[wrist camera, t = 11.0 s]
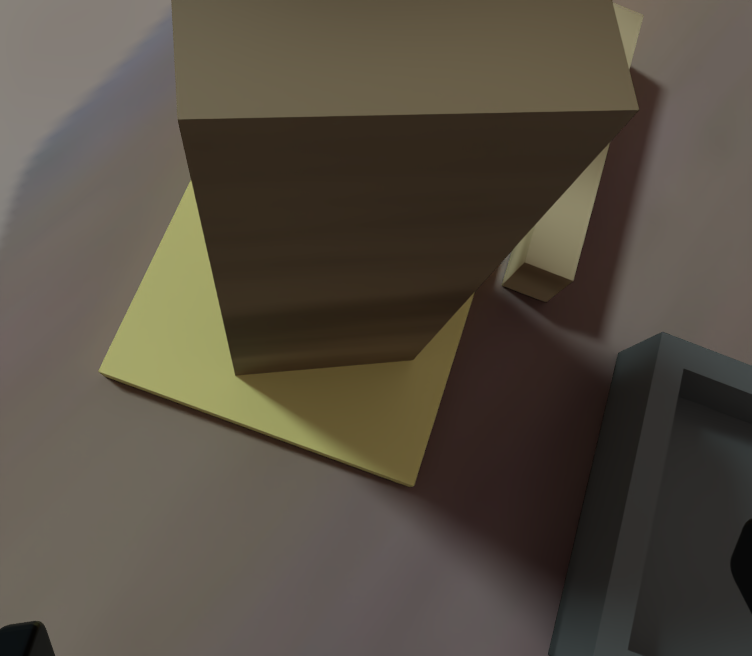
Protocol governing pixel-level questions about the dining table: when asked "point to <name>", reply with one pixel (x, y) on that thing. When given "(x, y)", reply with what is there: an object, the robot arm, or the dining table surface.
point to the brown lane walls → (564, 214)
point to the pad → (277, 389)
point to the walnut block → (381, 157)
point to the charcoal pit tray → (663, 510)
